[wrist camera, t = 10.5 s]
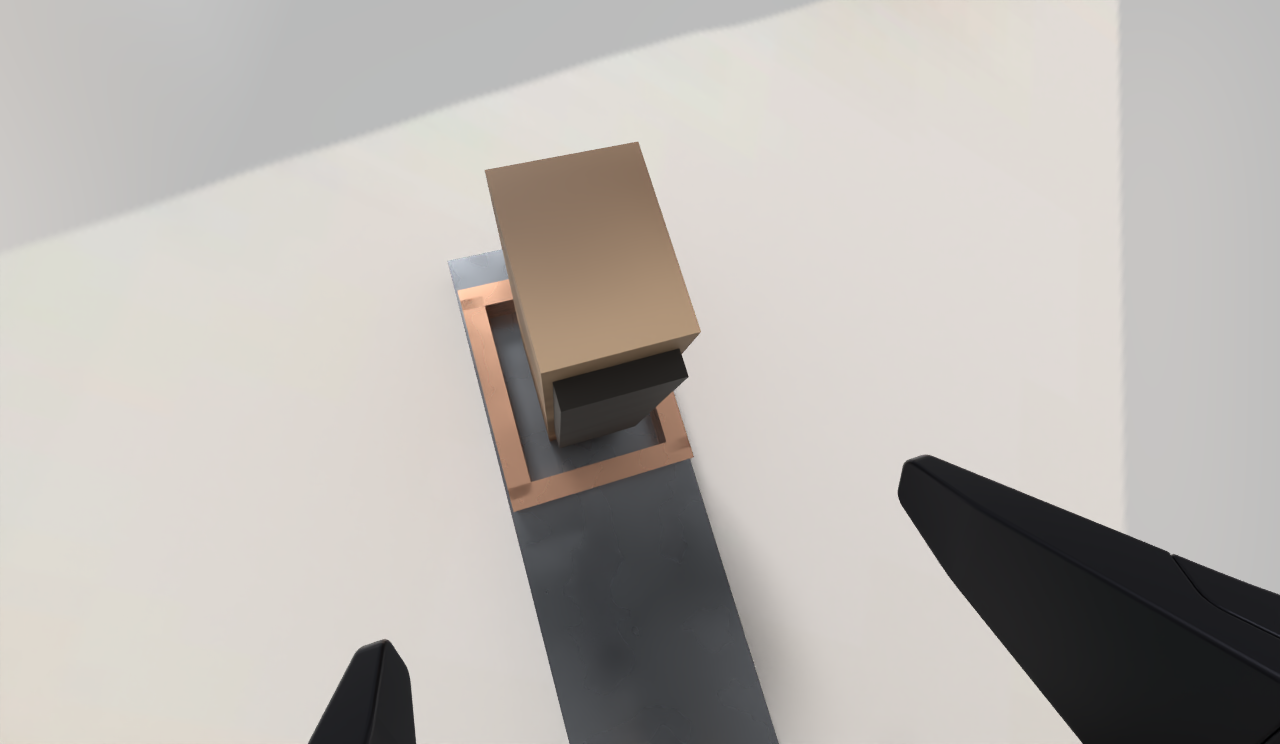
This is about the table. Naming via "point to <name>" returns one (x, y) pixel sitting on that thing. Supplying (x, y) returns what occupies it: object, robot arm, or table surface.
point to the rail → (613, 555)
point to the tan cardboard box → (593, 288)
